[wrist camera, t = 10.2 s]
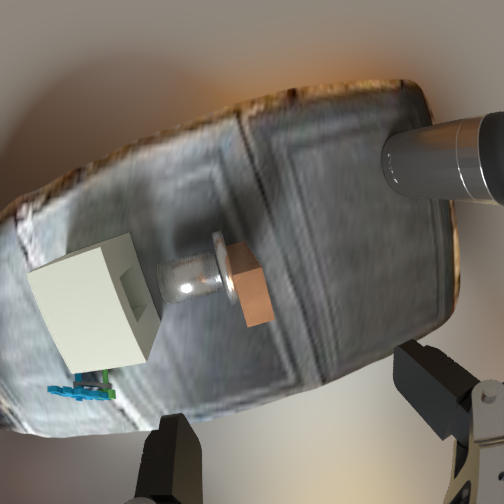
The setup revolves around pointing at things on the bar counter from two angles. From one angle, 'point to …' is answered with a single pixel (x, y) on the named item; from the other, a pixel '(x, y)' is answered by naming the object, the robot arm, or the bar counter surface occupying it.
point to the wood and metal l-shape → (218, 278)
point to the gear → (84, 393)
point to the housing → (97, 306)
